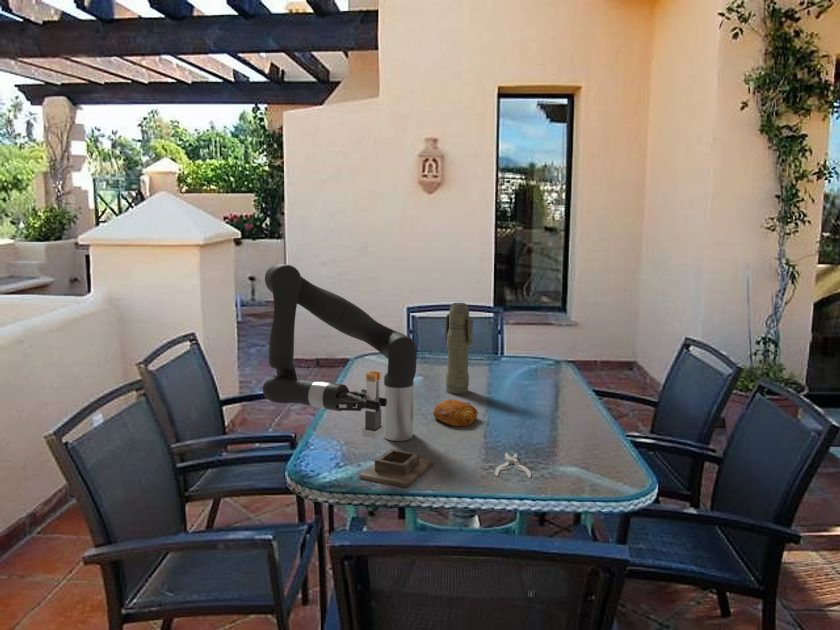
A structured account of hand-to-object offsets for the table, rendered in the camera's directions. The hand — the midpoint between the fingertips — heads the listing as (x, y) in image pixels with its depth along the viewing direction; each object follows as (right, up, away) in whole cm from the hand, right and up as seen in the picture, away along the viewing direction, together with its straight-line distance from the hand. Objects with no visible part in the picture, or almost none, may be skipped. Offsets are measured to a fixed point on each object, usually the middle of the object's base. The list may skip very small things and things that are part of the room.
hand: (382, 404), depth 186 cm
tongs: (-3, -9, +3) cm, 9 cm away
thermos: (+25, -6, +85) cm, 89 cm away
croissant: (+23, -12, +50) cm, 56 cm away
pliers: (+36, -20, +10) cm, 42 cm away
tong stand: (+4, -19, +6) cm, 20 cm away
